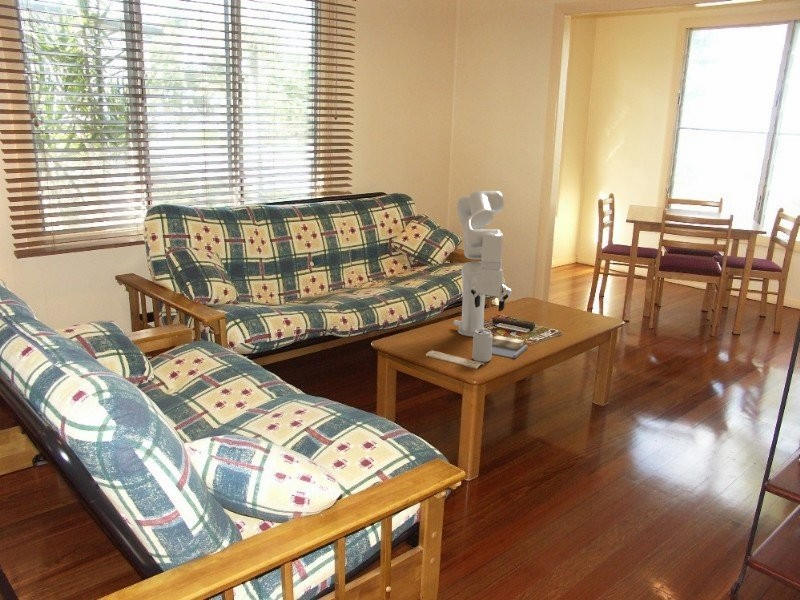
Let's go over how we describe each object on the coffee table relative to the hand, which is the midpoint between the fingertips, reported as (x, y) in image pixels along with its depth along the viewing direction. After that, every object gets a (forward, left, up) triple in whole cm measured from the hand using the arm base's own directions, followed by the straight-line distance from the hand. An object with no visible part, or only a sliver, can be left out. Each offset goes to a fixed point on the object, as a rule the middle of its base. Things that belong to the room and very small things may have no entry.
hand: (489, 308), depth 274 cm
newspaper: (-10, -6, -22) cm, 25 cm away
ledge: (+1, +19, -21) cm, 28 cm away
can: (-2, -1, -21) cm, 21 cm away
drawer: (+1, +14, -21) cm, 25 cm away
